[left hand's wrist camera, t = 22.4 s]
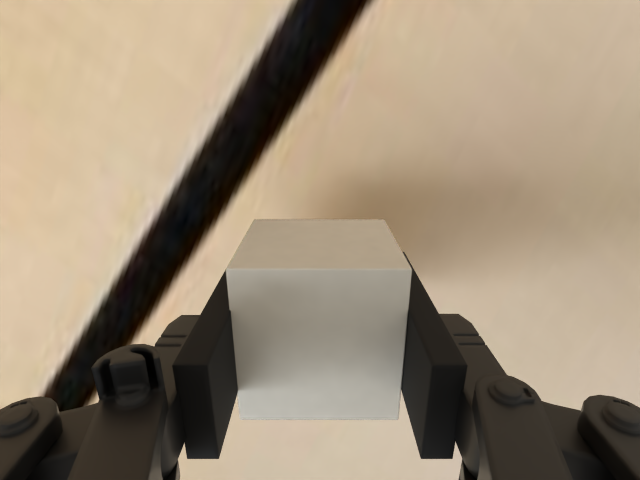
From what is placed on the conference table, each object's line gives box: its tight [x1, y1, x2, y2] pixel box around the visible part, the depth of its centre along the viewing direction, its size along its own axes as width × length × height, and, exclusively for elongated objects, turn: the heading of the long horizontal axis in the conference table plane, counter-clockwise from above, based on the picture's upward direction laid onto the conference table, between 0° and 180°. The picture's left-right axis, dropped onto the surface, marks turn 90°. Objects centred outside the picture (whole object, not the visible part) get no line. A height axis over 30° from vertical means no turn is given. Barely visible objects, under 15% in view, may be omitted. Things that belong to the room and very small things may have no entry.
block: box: [226, 219, 412, 420], centre depth 13 cm, size 5×5×4 cm
